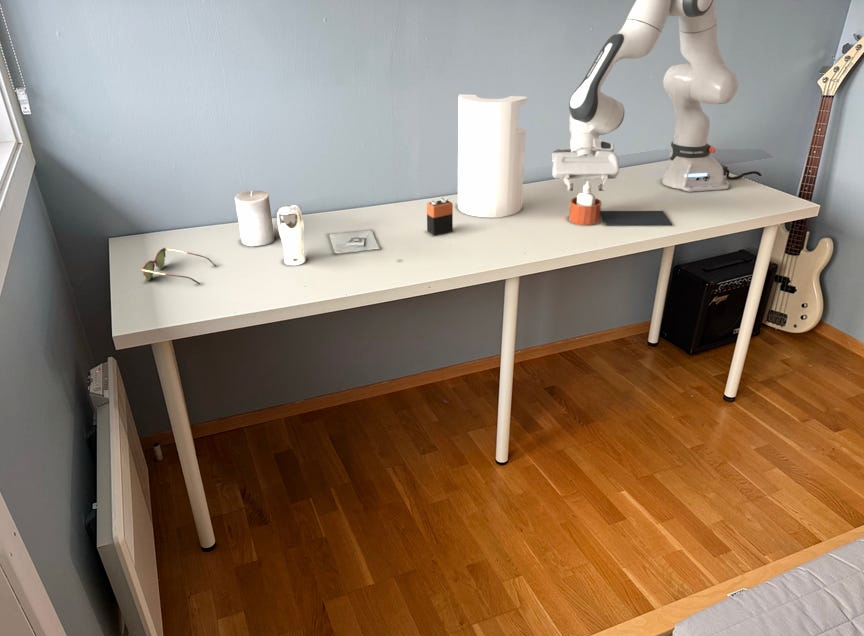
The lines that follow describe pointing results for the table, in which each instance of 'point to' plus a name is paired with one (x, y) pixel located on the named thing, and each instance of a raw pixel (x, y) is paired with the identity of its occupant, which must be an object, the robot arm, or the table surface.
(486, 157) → the white curved half cylinder
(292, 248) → the white handheld device
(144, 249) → the table surface
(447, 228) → the battery
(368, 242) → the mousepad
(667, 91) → the robot arm
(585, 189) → the eye dropper bottle
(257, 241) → the pillar candle
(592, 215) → the cup
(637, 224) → the mat
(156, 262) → the sunglasses
